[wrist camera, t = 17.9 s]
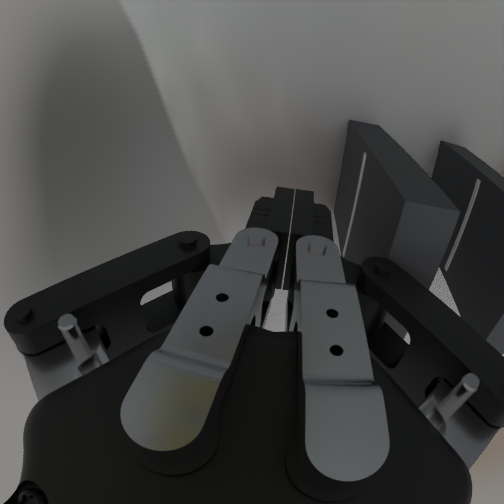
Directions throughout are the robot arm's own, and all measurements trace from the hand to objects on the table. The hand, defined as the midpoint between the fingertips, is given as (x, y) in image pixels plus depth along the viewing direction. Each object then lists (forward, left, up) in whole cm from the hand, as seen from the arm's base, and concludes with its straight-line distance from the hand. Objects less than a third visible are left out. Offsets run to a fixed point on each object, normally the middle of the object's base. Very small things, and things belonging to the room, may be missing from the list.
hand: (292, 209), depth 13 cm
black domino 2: (-10, 0, -7) cm, 12 cm away
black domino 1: (-4, 0, -7) cm, 8 cm away
